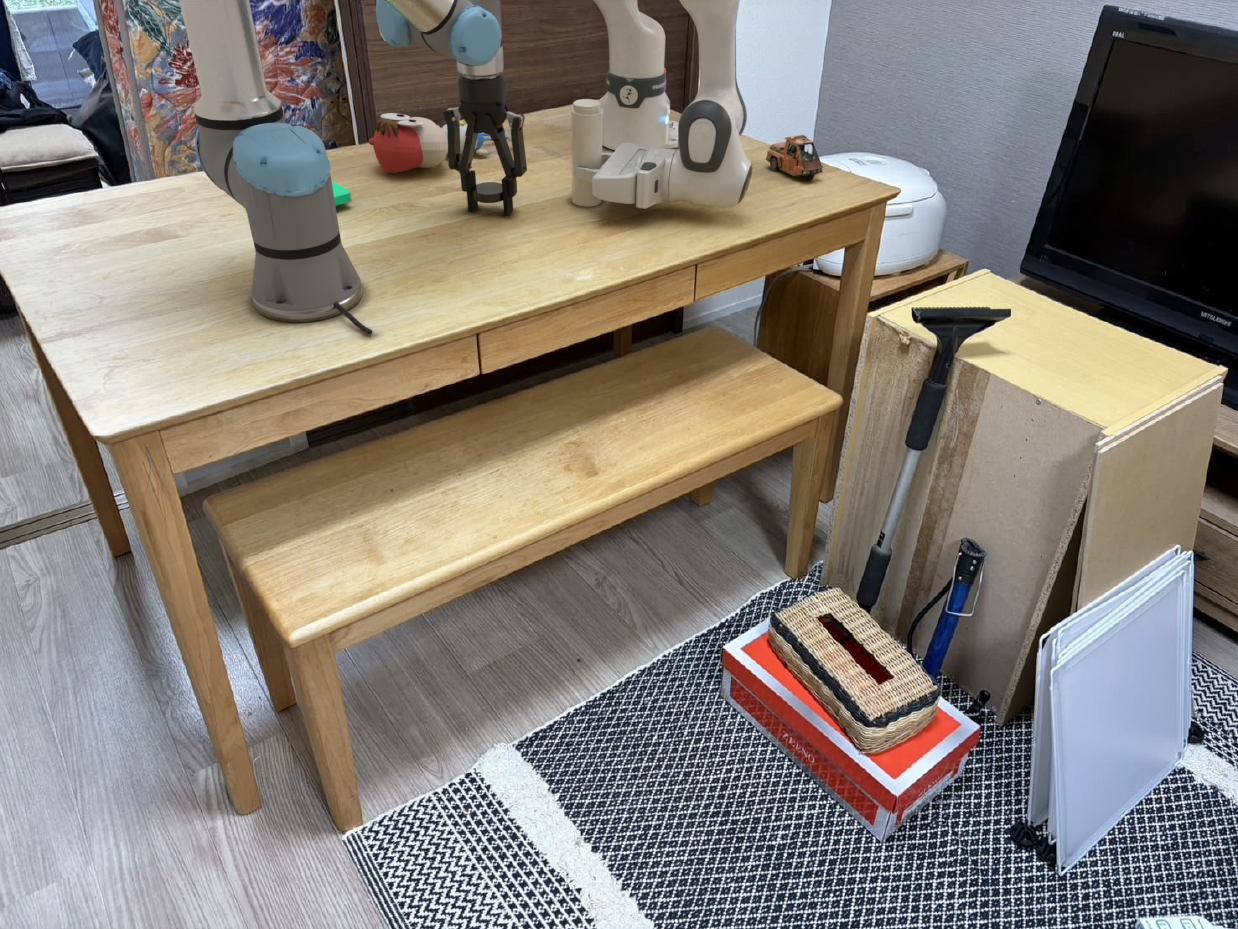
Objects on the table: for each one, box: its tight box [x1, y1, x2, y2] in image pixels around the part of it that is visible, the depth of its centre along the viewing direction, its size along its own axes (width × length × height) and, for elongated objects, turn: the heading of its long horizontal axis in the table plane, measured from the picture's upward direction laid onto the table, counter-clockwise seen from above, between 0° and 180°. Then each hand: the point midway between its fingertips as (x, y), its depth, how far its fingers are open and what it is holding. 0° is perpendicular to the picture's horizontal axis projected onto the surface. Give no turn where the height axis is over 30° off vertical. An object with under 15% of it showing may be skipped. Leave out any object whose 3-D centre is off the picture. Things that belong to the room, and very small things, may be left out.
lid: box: [472, 181, 503, 204], centre depth 161 cm, size 6×6×2 cm
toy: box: [368, 112, 512, 174], centre depth 181 cm, size 18×10×30 cm
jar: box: [570, 98, 603, 207], centre depth 163 cm, size 5×5×17 cm
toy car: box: [765, 134, 824, 182], centre depth 180 cm, size 6×12×7 cm, turn 39°
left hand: (491, 211), depth 163 cm, fingers closed on lid, 6 cm apart
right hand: (581, 165), depth 164 cm, fingers closed on jar, 5 cm apart
